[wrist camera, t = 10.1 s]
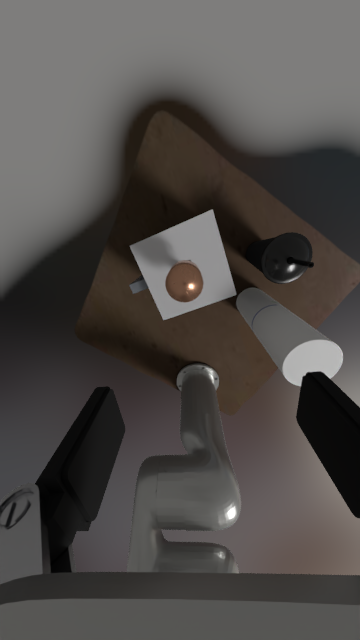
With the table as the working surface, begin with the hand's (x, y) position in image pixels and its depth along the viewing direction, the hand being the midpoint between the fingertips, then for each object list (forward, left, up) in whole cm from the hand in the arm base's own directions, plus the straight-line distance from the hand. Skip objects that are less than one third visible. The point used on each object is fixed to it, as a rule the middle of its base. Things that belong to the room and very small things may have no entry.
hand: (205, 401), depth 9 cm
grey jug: (+2, +4, -38) cm, 38 cm away
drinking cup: (+8, -13, -38) cm, 41 cm away
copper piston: (+3, +2, -36) cm, 36 cm away
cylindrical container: (-3, -16, -38) cm, 41 cm away
